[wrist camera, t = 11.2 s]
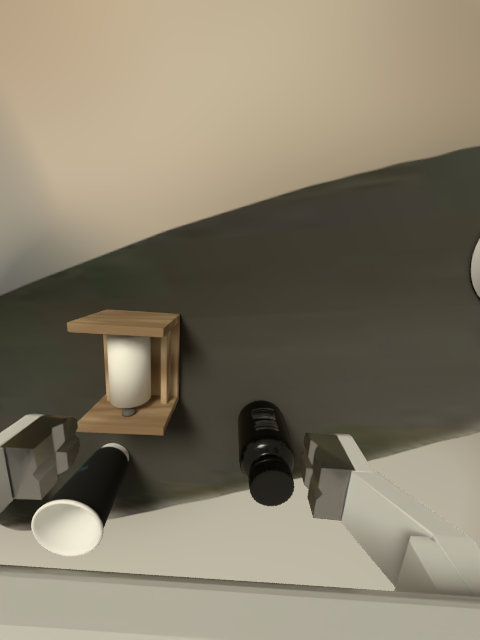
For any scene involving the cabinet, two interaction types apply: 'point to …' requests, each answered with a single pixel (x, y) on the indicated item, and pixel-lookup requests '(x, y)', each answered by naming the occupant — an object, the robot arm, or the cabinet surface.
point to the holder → (163, 371)
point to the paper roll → (129, 370)
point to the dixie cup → (82, 504)
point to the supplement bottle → (265, 453)
